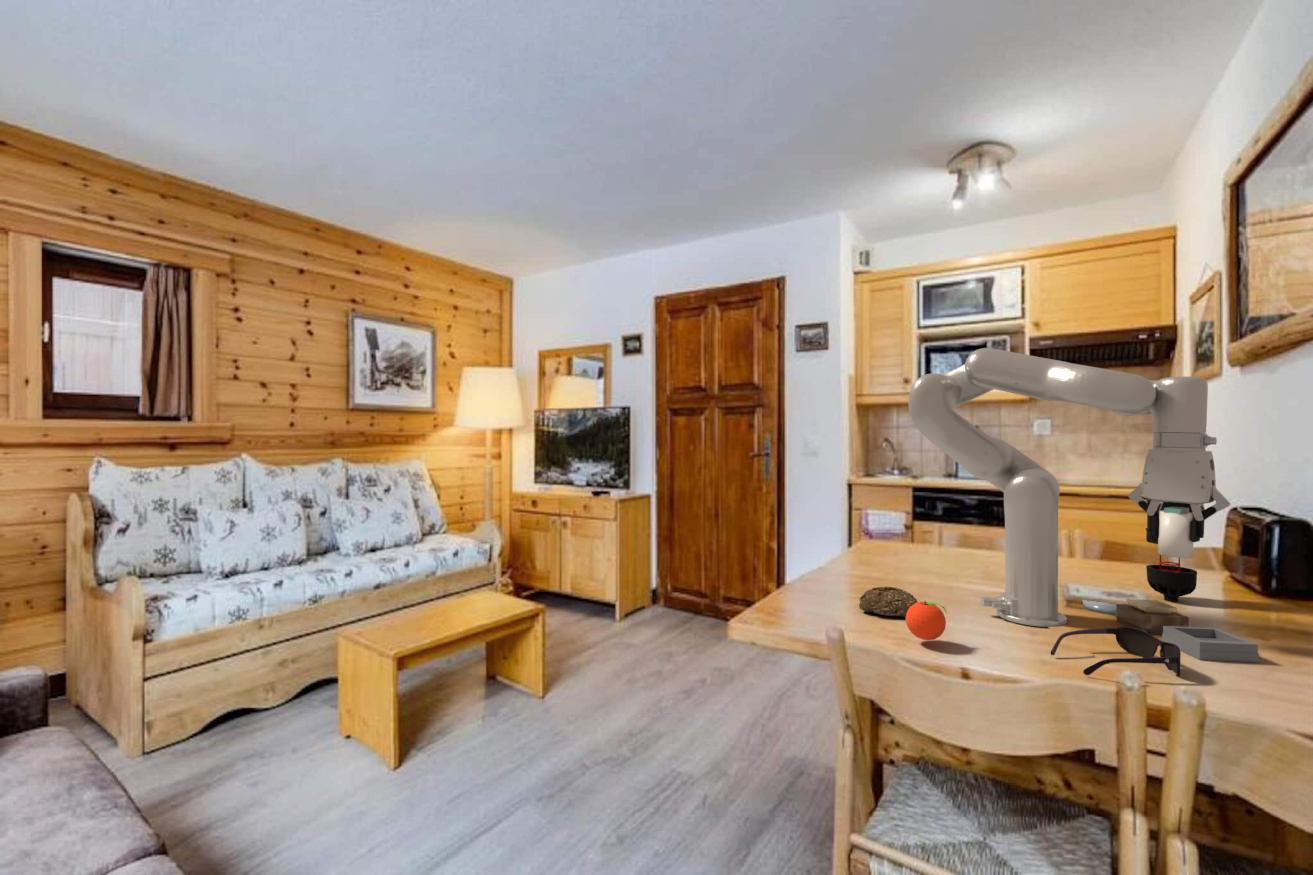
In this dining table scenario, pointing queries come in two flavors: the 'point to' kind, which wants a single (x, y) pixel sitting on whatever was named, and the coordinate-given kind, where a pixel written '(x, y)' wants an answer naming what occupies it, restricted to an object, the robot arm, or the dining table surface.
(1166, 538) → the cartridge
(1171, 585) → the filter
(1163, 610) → the button
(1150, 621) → the button housing
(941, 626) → the clementine
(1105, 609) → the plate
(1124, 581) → the dining table surface
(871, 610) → the dark brown domed lump
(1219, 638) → the socket
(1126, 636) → the sunglasses
